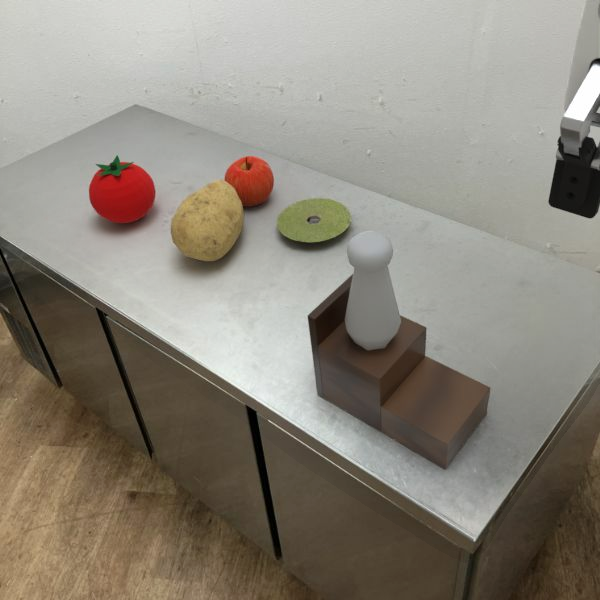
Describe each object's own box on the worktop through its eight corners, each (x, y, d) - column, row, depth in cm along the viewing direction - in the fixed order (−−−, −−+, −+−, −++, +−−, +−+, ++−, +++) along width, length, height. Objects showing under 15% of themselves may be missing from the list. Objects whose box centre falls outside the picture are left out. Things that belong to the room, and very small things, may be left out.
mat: (363, 216, 100) (363, 206, 99) (331, 259, 94) (330, 248, 92) (300, 202, 105) (299, 191, 104) (265, 241, 98) (263, 231, 97)
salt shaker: (409, 328, 70) (411, 231, 61) (385, 364, 66) (384, 267, 57) (361, 311, 72) (357, 216, 63) (335, 344, 69) (327, 249, 60)
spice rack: (486, 413, 71) (499, 331, 63) (445, 469, 67) (453, 389, 58) (361, 349, 80) (357, 269, 71) (317, 395, 76) (307, 315, 67)
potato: (160, 262, 97) (144, 209, 91) (224, 212, 105) (213, 161, 99) (209, 284, 92) (195, 231, 86) (272, 231, 100) (264, 178, 94)
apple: (276, 184, 110) (270, 141, 104) (276, 211, 104) (270, 168, 98) (230, 188, 110) (221, 146, 105) (227, 216, 104) (218, 173, 99)
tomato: (152, 191, 112) (136, 139, 105) (169, 221, 105) (154, 168, 98) (92, 211, 109) (73, 159, 102) (106, 243, 102) (86, 189, 95)
